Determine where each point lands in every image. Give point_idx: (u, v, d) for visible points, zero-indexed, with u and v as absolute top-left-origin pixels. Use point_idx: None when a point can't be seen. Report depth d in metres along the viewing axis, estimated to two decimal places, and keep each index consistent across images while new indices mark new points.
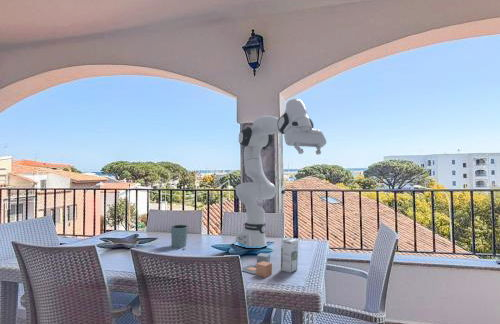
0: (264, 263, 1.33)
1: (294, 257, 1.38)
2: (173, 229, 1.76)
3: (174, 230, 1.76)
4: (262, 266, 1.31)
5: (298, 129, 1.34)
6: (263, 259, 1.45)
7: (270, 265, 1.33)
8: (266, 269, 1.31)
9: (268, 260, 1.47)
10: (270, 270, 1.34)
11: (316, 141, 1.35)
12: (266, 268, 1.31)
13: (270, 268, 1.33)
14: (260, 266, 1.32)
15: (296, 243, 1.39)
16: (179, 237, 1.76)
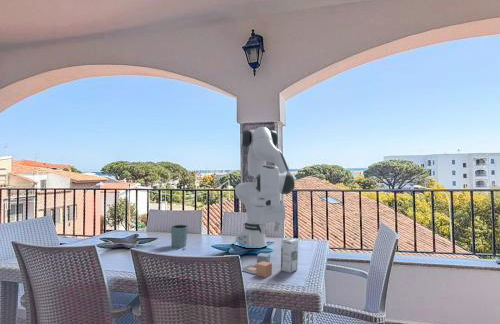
0: (264, 263, 1.33)
1: (294, 257, 1.38)
2: (173, 229, 1.76)
3: (174, 230, 1.76)
4: (262, 266, 1.31)
5: (269, 208, 1.28)
6: (263, 259, 1.45)
7: (270, 265, 1.34)
8: (266, 269, 1.31)
9: (268, 260, 1.47)
10: (270, 270, 1.34)
11: (278, 219, 1.35)
12: (266, 268, 1.31)
13: (270, 268, 1.33)
14: (260, 266, 1.32)
15: (296, 243, 1.39)
16: (179, 237, 1.76)
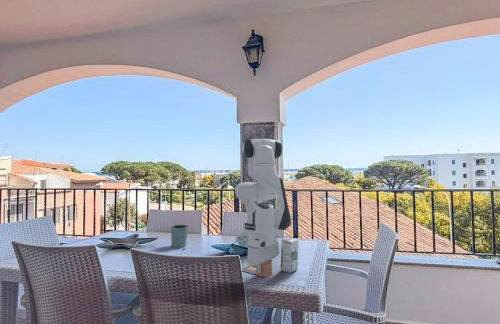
0: (264, 263, 1.33)
1: (294, 257, 1.38)
2: (173, 229, 1.76)
3: (174, 230, 1.76)
4: (262, 266, 1.31)
5: (263, 249, 1.29)
6: None
7: (270, 265, 1.33)
8: (266, 269, 1.31)
9: None
10: (270, 270, 1.34)
11: (272, 257, 1.36)
12: (266, 268, 1.31)
13: (270, 268, 1.33)
14: None
15: (296, 243, 1.39)
16: (179, 237, 1.76)
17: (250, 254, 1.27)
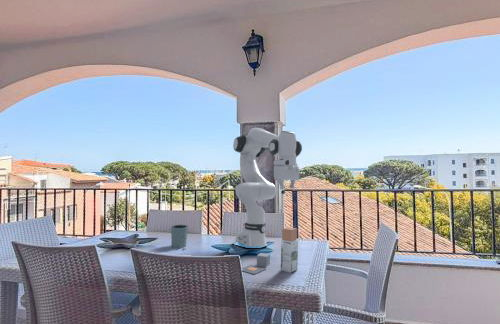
0: (290, 228, 1.40)
1: (294, 257, 1.38)
2: (173, 229, 1.76)
3: (174, 230, 1.76)
4: (288, 230, 1.38)
5: (287, 167, 1.49)
6: (263, 259, 1.45)
7: (295, 230, 1.40)
8: (292, 233, 1.37)
9: (268, 260, 1.47)
10: (296, 235, 1.40)
11: (294, 178, 1.56)
12: (292, 232, 1.37)
13: (295, 233, 1.40)
14: (286, 230, 1.38)
15: (296, 243, 1.39)
16: (179, 237, 1.76)
17: (276, 170, 1.47)
